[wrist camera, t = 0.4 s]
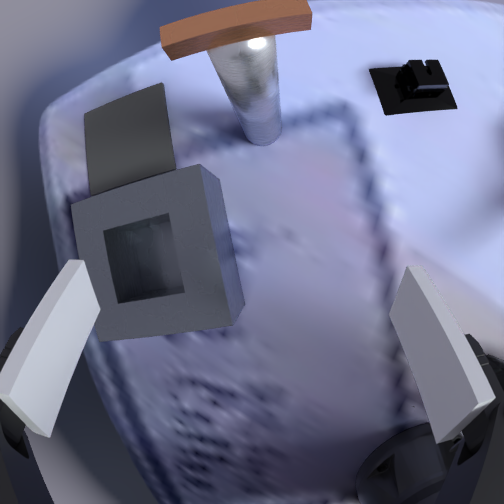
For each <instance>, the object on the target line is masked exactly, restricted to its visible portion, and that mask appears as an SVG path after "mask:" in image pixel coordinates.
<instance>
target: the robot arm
mask: <svg viewBox="0 0 504 504" xmlns="http://www.w3.org/2000/svg"><path fill="white" fill-rule="evenodd" d="M99 312H100V307H99V304H98V301H97V298H96V296H95V293H94V290H93V287H92V284H91V281H90V278H89V275H88V272H87V269H86V265H85V262H84V260H68V262H67V263H66V264H65V266H64V267H63V269H62V270H61V272H60V273H59V275H58V276H57V278H56V279H55V281H54V282H53V283H52V285H51V287H50V288H49V290H48V291H47V293H46V294H45V296H44V297H43V299H42V300H41V302H40V304H39V305H38V307H37V308H36V310H35V312H34V313H33V315H32V316H31V318H30V320H29V321H28V323H27V325H26V326H25V328H21V327H20V328H19V329H18V330H17V331H16V332H15V333H14V334H13V335H11V337H10V338H9V340H8V342H7V344H6V346H5V349H3V351H2V353H1V355H0V504H54V502H53V500H52V498H51V496H50V493H49V491H48V489H47V487H46V484H45V482H44V480H43V477H42V475H41V473H40V470H39V467H38V465H37V462H36V460H35V457H34V454H33V451H32V448H31V446H30V443H29V440H28V437H27V435H26V433H25V431H24V428H25V425H26V426H28V427H29V428H30V429H31V430H32V431H33V432H34V433H37V434H40V435H43V436H46V437H49V438H50V436H51V433H52V430H53V427H54V424H55V421H56V418H57V415H58V412H59V409H60V407H61V404H62V401H63V398H64V396H65V393H66V390H67V388H68V385H69V382H70V380H71V377H72V375H73V372H74V369H75V367H76V365H77V362H78V359H79V357H80V355H81V352H82V350H83V348H84V345H85V343H86V341H87V339H88V336H89V334H90V332H91V329H92V327H93V325H94V323H95V321H96V318H97V316H98V314H99ZM389 316H390V318H391V321H392V323H393V325H394V328H395V330H396V333H397V335H398V337H399V340H400V342H401V345H402V347H403V350H404V352H405V355H406V357H407V360H408V363H409V365H410V368H411V370H412V373H413V376H414V378H415V381H416V384H417V387H418V389H419V392H420V395H421V398H422V401H423V404H424V407H425V410H426V413H427V416H428V419H429V422H430V423H429V424H424V425H420V426H416V427H413V428H411V429H408V430H406V431H404V432H402V433H400V434H398V435H396V436H394V437H392V438H391V439H389V440H388V441H386V442H385V443H383V444H382V445H381V446H380V447H378V448H377V449H376V450H375V451H374V452H373V453H372V454H371V455H370V456H369V457H368V458H367V459H366V460H365V462H364V463H363V465H362V466H361V468H360V470H359V472H358V474H357V477H356V490H357V494H358V499H359V501H360V503H361V504H504V391H503V389H502V387H501V385H500V383H499V381H498V379H497V377H496V375H495V373H494V371H493V369H492V367H491V365H489V361H488V359H487V357H486V356H485V353H484V352H483V350H482V348H481V346H480V344H479V343H478V342H477V341H476V340H475V339H474V338H473V337H472V336H471V335H470V334H466V335H464V333H463V332H462V330H461V328H460V326H459V325H458V323H457V321H456V319H455V318H454V316H453V314H452V312H451V311H450V309H449V307H448V306H447V304H446V302H445V301H444V299H443V298H442V296H441V294H440V293H439V291H438V289H437V288H436V286H435V285H434V283H433V282H432V280H431V278H430V277H429V275H428V274H427V272H426V271H425V269H424V268H423V266H407V267H406V270H405V273H404V276H403V279H402V281H401V284H400V287H399V290H398V292H397V295H396V297H395V300H394V303H393V305H392V308H391V310H390V313H389ZM461 431H462V433H463V435H462V434H461V433H460V432H461Z"/></svg>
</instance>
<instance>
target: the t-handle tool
mask: <svg viewBox="0 0 504 504" xmlns="http://www.w3.org/2000/svg"><path fill="white" fill-rule="evenodd" d="M311 23H312V11H311V9H310V7H309V5H308V2H307V0H260V1H254V2H249V3H244V4H239V5H235V6H230V7H226V8H222V9H218V10H214V11H210V12H206V13H203V14H199V15H195V16H192V17H189V18H185V19H182V20H179V21H176V22H173V23H170V24H167V25H164V26H161V27H160V36H161V45H162V48H163V50H164V51H165V53H166V54H167V55H168V57H169V58H170V59H171V61H172V60H175V59H179V58H182V57H185V56H188V55H191V54H195V53H198V52H202V51H205V50H206V51H207V53H208V55H209V57H210V59H211V61H212V63H213V65H214V68H215V70H216V72H217V74H218V76H219V78H220V80H221V83H222V85H223V87H224V89H225V91H226V94H227V96H228V98H229V100H230V102H231V105H232V107H233V109H234V111H235V114H236V116H237V118H238V120H239V122H240V125H241V127H242V129H243V132H244V134H245V136H246V138H247V139H248V140H249V141H250V142H251V143H253V144H255V145H258V146H267V145H270V144H272V143H274V142H275V141H276V140H277V139H278V138H279V136H280V134H281V130H282V125H281V109H280V93H279V79H278V66H277V53H276V41H275V35H277V34H283V33H290V32H297V31H304V30H311Z"/></svg>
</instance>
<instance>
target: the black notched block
mask: <svg viewBox="0 0 504 504" xmlns="http://www.w3.org/2000/svg"><path fill="white" fill-rule="evenodd" d="M425 63H426V66H424V64H423V62H422V60H409V61H408V62H407V64H404V65H403V66H402V67H388V68H373V69H369V72H370V74H371V77H372V80H373V82H374V85H375V88H376V91H377V94H378V96H379V99H380V102H381V105H382V108H383V111H384V114H385V115H394V114H403V113H413V112H423V111H435V110H448V109H457V105H456V103H455V100H454V97H453V95H452V93H451V90H450V88H449V83H448V81H447V78H446V76H445V74H444V72H443V69H442V67H441V65H440V63H439V61H438V60H426V61H425Z"/></svg>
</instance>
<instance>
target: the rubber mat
mask: <svg viewBox="0 0 504 504" xmlns="http://www.w3.org/2000/svg"><path fill="white" fill-rule="evenodd" d="M84 116H85V137H86V152H87V164H88V174H89V184H90V192H91V196H95V195H98V194H100V193H103V192H106V191H109V190H112V189H115V188H118V187H121V186H124V185H127V184H131V183H134V182H137V181H140V180H143V179H147V178H150V177H153V176H156V175H160V174H163V173H167V172H170V171H174V170H176V165H175V159H174V153H173V146H172V140H171V133H170V127H169V120H168V113H167V106H166V98H165V91H164V84H163V83H159V84H156V85H153V86H150V87H147V88H145V89H142V90H139V91H137V92H134V93H132V94H129V95H126V96H124V97H122V98H119V99H117V100H114V101H112V102H110V103H107V104H105V105H103V106H100V107H98V108H96V109H94V110H92V111H89V112H87V113H85V114H84Z"/></svg>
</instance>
